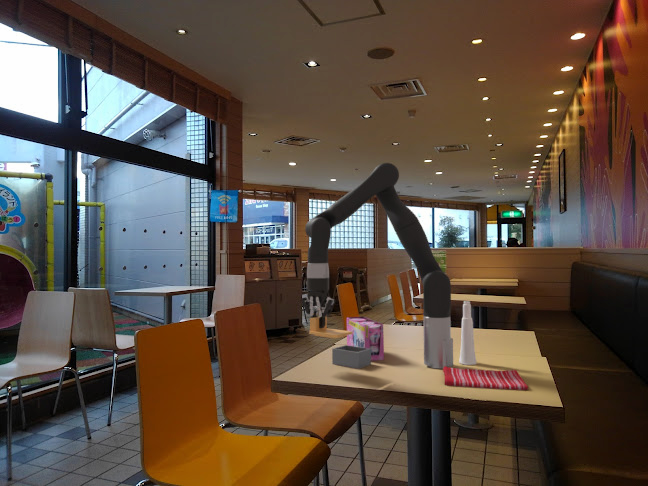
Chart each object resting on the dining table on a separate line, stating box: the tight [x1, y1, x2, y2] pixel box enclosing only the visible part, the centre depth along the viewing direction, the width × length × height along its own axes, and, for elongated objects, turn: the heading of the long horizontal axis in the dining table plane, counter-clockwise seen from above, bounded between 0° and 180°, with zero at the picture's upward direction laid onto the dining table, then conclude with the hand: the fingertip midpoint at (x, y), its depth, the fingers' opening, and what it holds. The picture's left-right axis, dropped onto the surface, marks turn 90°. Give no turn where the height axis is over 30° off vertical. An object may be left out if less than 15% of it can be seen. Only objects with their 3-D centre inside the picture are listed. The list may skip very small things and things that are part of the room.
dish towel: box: [442, 366, 529, 391], centre depth 142 cm, size 17×24×3 cm
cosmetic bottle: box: [458, 300, 478, 366], centre depth 165 cm, size 6×6×22 cm
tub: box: [331, 344, 372, 370], centre depth 162 cm, size 11×8×6 cm
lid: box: [308, 316, 353, 339], centre depth 153 cm, size 12×9×6 cm
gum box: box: [346, 316, 385, 361], centre depth 178 cm, size 24×8×14 cm, turn 14°
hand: (318, 327), depth 156 cm, fingers closed on lid, 2 cm apart
